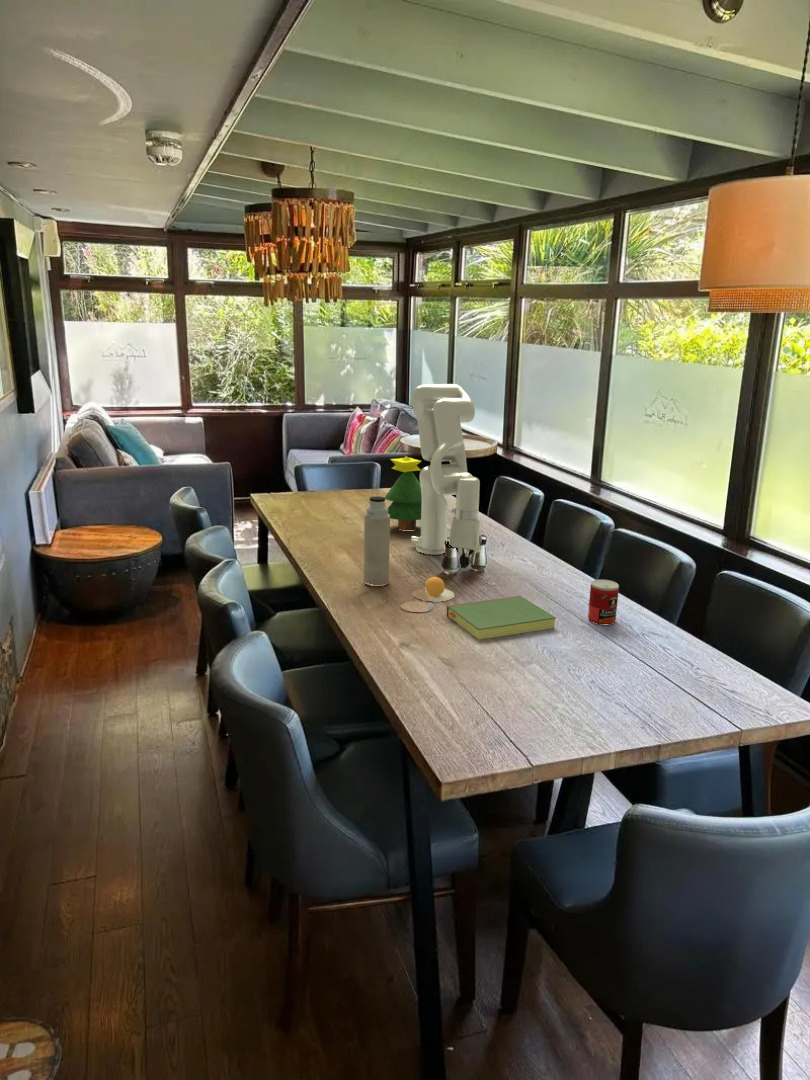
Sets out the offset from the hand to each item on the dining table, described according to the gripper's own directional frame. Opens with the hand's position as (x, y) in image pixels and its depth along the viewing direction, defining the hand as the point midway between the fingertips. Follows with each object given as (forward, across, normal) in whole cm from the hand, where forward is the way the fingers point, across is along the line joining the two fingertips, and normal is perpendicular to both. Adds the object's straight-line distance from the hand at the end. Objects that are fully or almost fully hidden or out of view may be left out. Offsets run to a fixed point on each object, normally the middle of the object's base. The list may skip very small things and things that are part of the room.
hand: (464, 566), depth 262 cm
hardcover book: (+2, +26, -38) cm, 46 cm away
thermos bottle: (+2, -20, -26) cm, 33 cm away
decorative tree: (+2, -42, +39) cm, 57 cm away
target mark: (+2, +1, -27) cm, 27 cm away
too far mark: (+2, +1, -39) cm, 39 cm away
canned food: (+2, +52, -22) cm, 56 cm away
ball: (-2, +2, -28) cm, 28 cm away
